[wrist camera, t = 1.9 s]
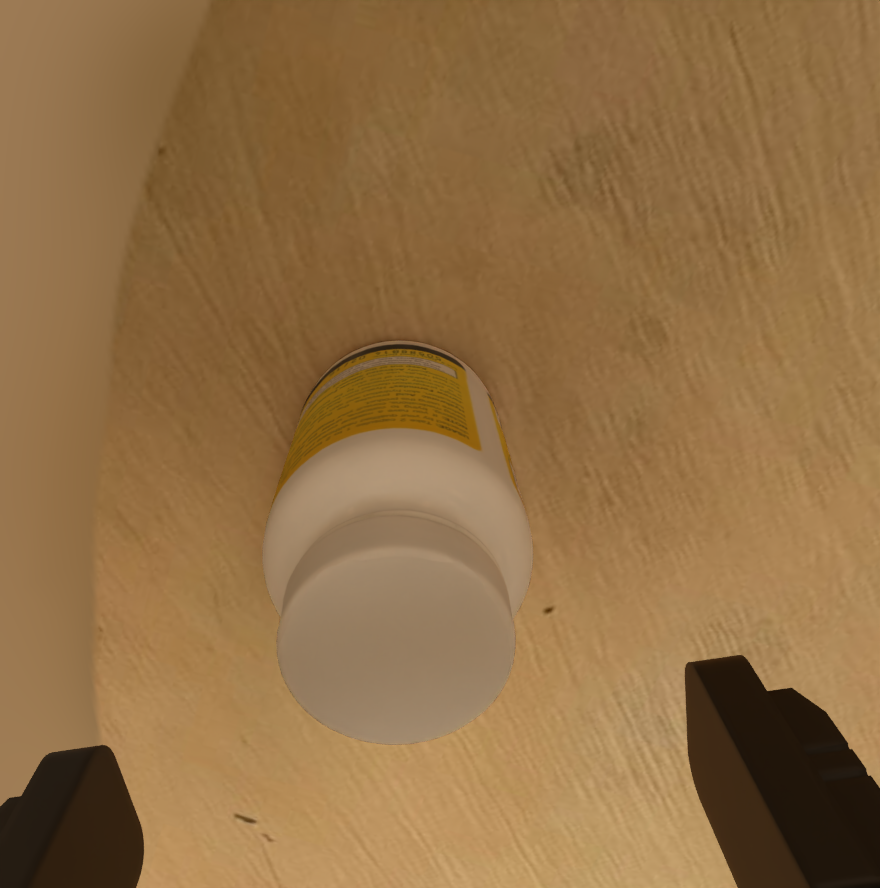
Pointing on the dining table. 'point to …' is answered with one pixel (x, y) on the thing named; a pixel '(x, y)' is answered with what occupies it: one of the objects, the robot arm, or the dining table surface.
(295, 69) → the dining table surface
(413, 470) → the supplement bottle
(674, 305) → the dining table surface
